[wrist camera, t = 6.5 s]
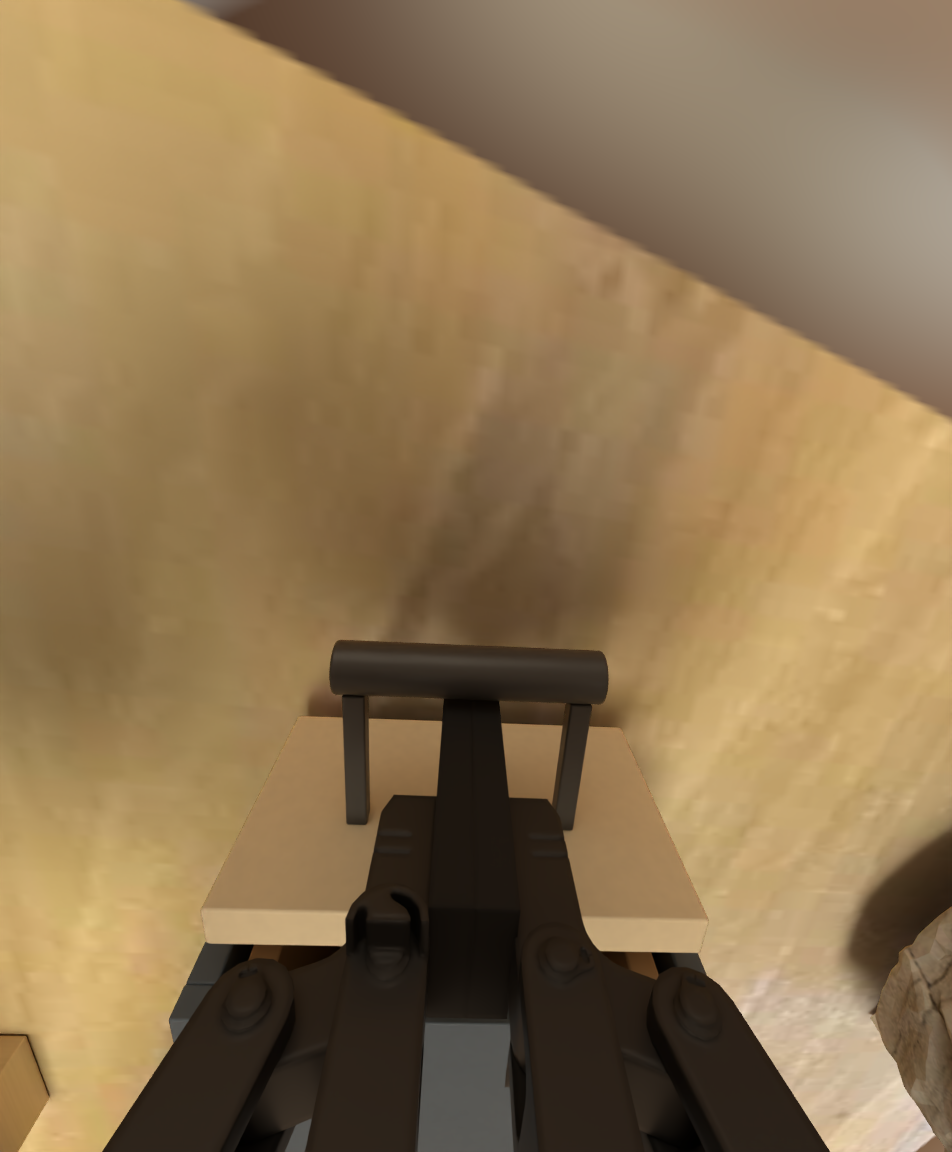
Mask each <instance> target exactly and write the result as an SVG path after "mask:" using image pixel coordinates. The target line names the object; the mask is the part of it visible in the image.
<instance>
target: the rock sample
mask: <svg viewBox="0 0 952 1152" xmlns="http://www.w3.org/2000/svg"><path fill="white" fill-rule="evenodd" d="M875 1017H876V1020H877V1024H878V1027H879V1031H880V1034H881V1038H882V1041H883V1043H884V1045H885V1047H886V1049H887V1051H888V1052H889V1053H890V1054H891V1056H892V1057H893V1058H894V1060H895V1061H896V1062H897V1065H898V1069H899V1072H900V1075H901V1078H902V1081H903V1085H904V1087H905V1089H906V1090H907V1092H908V1093H909V1095H910V1097H911V1098H912V1099H913V1100H914V1101H915V1103H916V1104H917V1106H918V1107H919V1109H920V1110H921V1112H922V1114H923V1115H924V1117H925V1118H926V1120H927V1122H928V1123H929V1125H930V1126H931V1128H932V1130H933V1133H934V1134H935V1135H936V1136H937V1137H938V1138H939V1140H940V1141H941V1142H942V1144H943V1145H944V1147H945V1152H952V906H951V907H950V908H949V909H947V910H946V911H944V912H943V913H942V914H940V915H939V916H938V917H937V918H936V919H935V920H933V921H932V922H931V923H930V924H929V925H928V926H927V927H926V928H925V929H924V930H922V931H921V932H920V933H919V934H918V936H917V938H916V939H915V941H914V942H913V944H912V945H909V946H905V947H904V948H903V949H902V950H901V951H900V952H899V960H898V963H897V964H896V965H895V966H894V967H893V968H892V970H891V972H890V974H889V977H888V979H887V981H886V983H885V985H884V987H883V989H882V991H881V996H880V1000H879V1003H878V1005H877V1010H876V1015H875Z"/></svg>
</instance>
